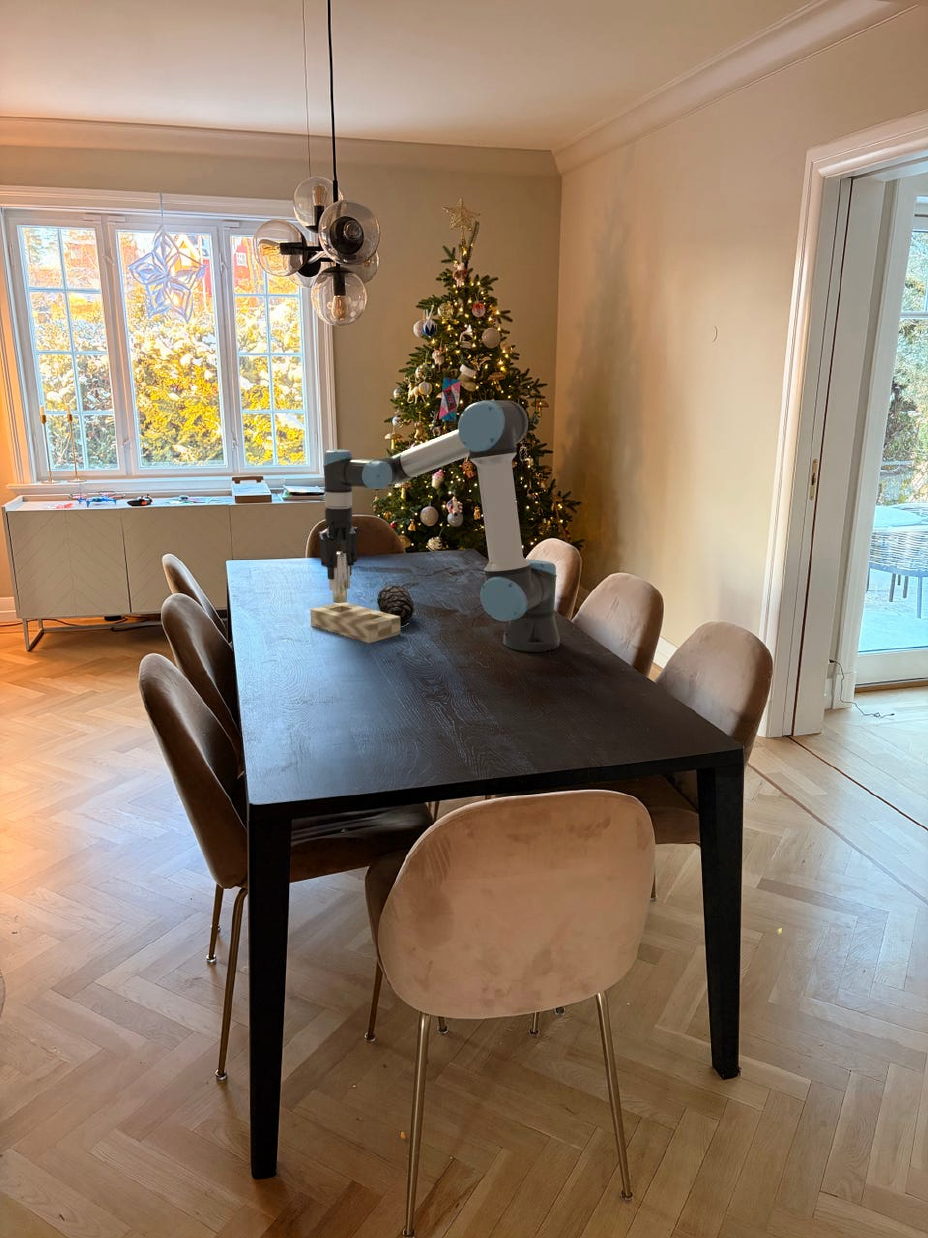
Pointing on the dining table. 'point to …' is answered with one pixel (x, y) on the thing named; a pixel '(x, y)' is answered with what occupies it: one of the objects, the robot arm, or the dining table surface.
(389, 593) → the pine cone
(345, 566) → the steel pin
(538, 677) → the dining table surface
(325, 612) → the hole block
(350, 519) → the robot arm
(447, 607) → the dining table surface
